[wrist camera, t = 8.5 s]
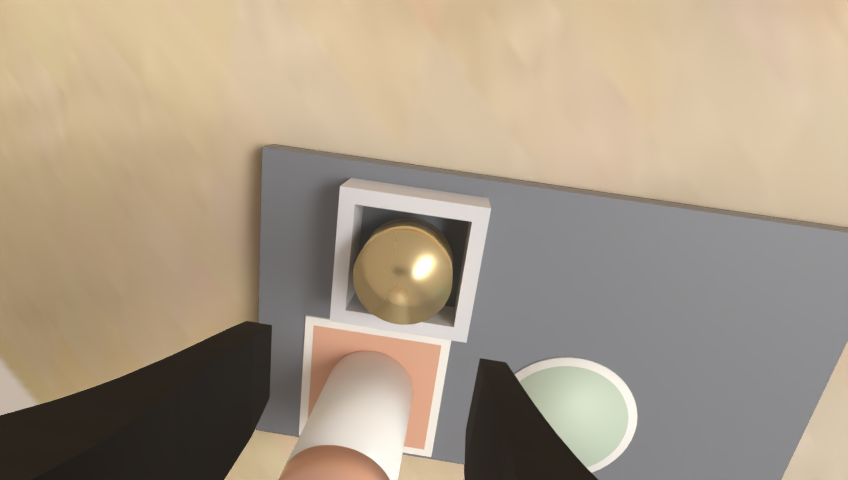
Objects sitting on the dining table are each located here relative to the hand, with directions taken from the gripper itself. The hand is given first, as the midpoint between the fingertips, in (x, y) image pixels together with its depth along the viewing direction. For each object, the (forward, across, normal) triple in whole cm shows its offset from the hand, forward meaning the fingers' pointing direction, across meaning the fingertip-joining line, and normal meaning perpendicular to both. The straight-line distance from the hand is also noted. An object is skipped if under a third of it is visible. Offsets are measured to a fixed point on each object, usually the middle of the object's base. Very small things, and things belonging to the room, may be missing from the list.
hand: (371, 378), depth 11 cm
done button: (+8, 0, 0) cm, 8 cm away
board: (+10, -6, +4) cm, 12 cm away
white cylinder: (+9, +1, +7) cm, 11 cm away
